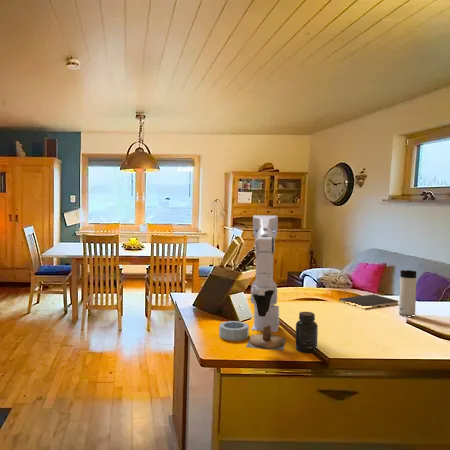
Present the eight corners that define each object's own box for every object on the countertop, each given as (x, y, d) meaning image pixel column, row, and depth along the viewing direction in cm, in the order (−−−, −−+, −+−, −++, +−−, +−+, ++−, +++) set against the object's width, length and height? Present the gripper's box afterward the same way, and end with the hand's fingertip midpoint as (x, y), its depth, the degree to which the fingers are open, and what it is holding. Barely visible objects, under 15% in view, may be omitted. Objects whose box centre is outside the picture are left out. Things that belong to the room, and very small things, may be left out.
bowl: (250, 333, 136) (250, 322, 135) (245, 342, 126) (245, 330, 126) (223, 330, 138) (223, 320, 138) (216, 340, 128) (216, 328, 128)
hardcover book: (398, 305, 181) (399, 300, 181) (363, 310, 171) (363, 305, 171) (372, 298, 195) (372, 294, 195) (338, 302, 185) (339, 298, 185)
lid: (284, 338, 129) (284, 322, 129) (281, 349, 119) (282, 332, 118) (252, 335, 132) (253, 320, 132) (247, 346, 121) (247, 329, 121)
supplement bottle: (292, 346, 123) (293, 310, 122) (313, 346, 123) (314, 310, 123) (298, 354, 116) (299, 316, 115) (320, 354, 116) (321, 316, 116)
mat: (285, 339, 130) (285, 338, 130) (283, 351, 118) (283, 350, 118) (251, 336, 132) (251, 335, 132) (245, 348, 121) (245, 347, 121)
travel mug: (399, 316, 160) (400, 269, 159) (398, 312, 166) (400, 267, 165) (415, 318, 158) (417, 271, 157) (414, 314, 164) (415, 268, 163)
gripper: (255, 270, 133) (255, 308, 133) (248, 274, 119) (248, 317, 119) (275, 271, 131) (275, 310, 131) (271, 275, 117) (270, 319, 117)
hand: (263, 313), depth 125 cm, fingers open, 7 cm apart
